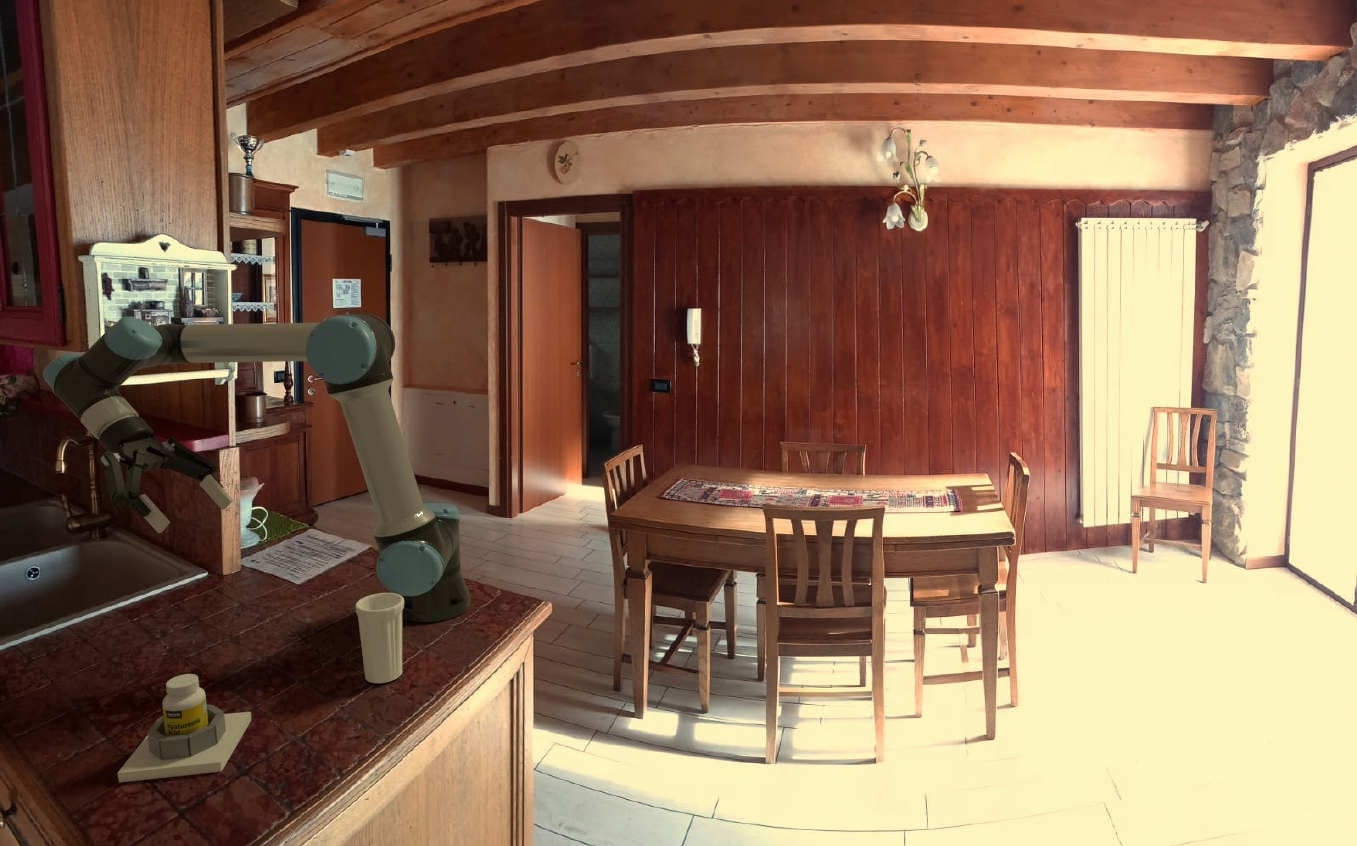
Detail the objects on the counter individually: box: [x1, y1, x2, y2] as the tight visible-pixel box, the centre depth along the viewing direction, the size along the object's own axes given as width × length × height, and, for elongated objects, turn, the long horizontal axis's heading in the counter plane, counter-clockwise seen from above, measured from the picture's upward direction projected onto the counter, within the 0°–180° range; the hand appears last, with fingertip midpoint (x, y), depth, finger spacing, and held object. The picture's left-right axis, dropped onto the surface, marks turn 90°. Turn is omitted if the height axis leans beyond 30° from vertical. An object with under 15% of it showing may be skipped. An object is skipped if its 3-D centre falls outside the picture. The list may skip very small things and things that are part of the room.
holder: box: [117, 704, 252, 783], centre depth 112 cm, size 13×13×4 cm
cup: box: [355, 592, 404, 684], centre depth 133 cm, size 8×8×14 cm
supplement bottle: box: [162, 673, 208, 737], centre depth 111 cm, size 5×5×10 cm
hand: (197, 516), depth 134 cm, fingers open, 13 cm apart
